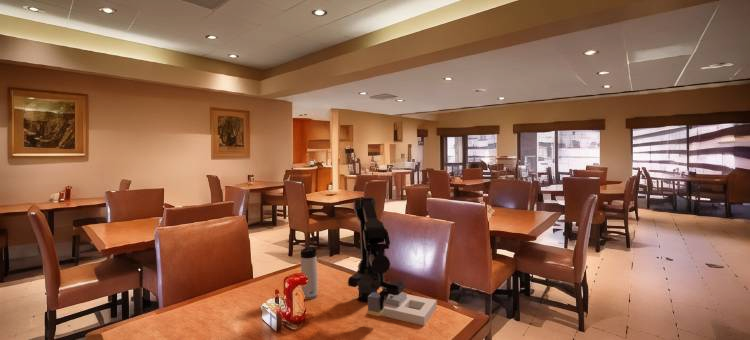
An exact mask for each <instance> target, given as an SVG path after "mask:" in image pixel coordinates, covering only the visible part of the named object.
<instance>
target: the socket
mask: <svg viewBox="0 0 750 340" xmlns="http://www.w3.org/2000/svg"><path fill="white" fill-rule="evenodd" d="M437 303H438V301H437V299H432V298H427V297H422V296H418V295H411V294H408V293H407V299H406V300H405V301H404V302H403V303H402V304H401V305H400V306H395V305H390V304H386V303H385V305H384V312H383V313H382V314H381V315H380V316H382V317H385V318H388V319H389V318H390V319H393V320H399V321H404V322H408V323H411V324H416V325H420V326H426V324H427V323H428V321H429V320H430V318H431V317H432V315H433V314H434V313H435V311H436V310H437V308H438V304H437Z"/></svg>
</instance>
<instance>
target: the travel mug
mask: <svg viewBox="0 0 750 340" xmlns="http://www.w3.org/2000/svg"><path fill="white" fill-rule="evenodd" d="M317 250H318V247H315V246H310V247H305V248H303V249H302V250H300V274H301V273H303V274H305V275H306V276H307V278H308V281H307V285H305V286H302V285H301V291H302V290H303V292H304V295H305V298H306V299H307V301H311V300H314V299H316V298H317V297H318V296H319V295H318V268H317V267H318V262H317V261H318V260H317V258H318V257H317ZM306 299H305V300H306Z"/></svg>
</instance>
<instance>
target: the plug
mask: <svg viewBox="0 0 750 340" xmlns="http://www.w3.org/2000/svg"><path fill="white" fill-rule="evenodd" d="M379 293H380V292H378V291H377V292H373V293H371V294H370V295H369V296H368V303H367V314H369V315H373V316H377V317H380V316H381V314H382V313H383V312H384V308H383V310H381V308H380V300H381V296H380V294H379Z"/></svg>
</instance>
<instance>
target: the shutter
mask: <svg viewBox="0 0 750 340" xmlns="http://www.w3.org/2000/svg"><path fill="white" fill-rule="evenodd" d="M407 294H408V293H407V292H404V291H402V292H401V293H400V294H399V295H392V294H389V295H388V298H387V300H386V304H390V305H395V306H400V305H401V304H402V303H403V302H404V301H405V300H406V299H407Z"/></svg>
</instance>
